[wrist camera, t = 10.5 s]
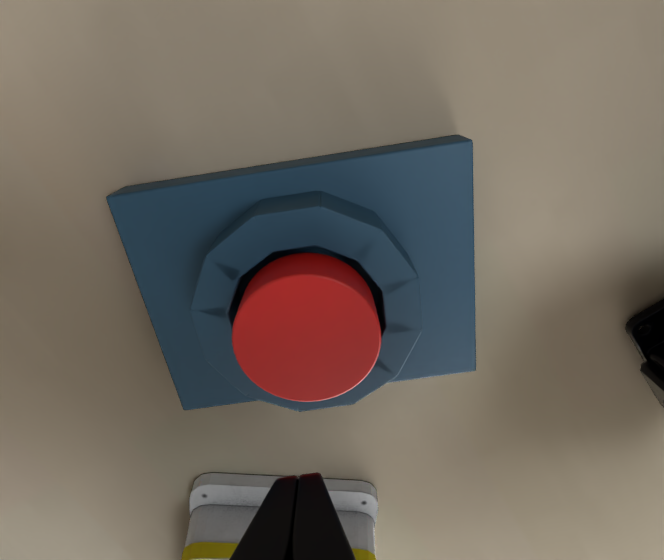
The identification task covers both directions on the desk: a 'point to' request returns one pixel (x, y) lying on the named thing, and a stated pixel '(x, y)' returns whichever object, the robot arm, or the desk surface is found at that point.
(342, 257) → the blue button base
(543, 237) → the desk surface
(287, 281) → the power button
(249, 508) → the emergency button
